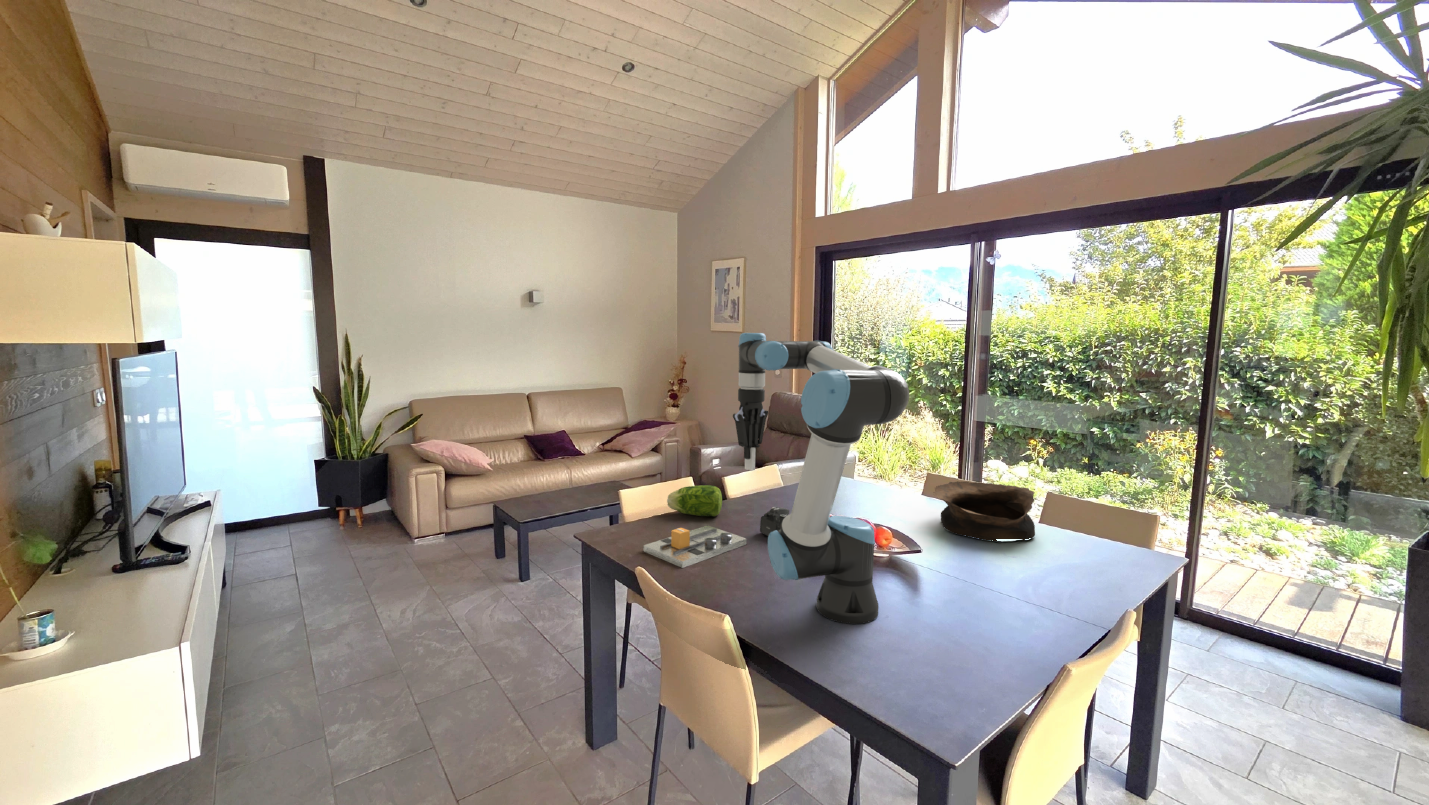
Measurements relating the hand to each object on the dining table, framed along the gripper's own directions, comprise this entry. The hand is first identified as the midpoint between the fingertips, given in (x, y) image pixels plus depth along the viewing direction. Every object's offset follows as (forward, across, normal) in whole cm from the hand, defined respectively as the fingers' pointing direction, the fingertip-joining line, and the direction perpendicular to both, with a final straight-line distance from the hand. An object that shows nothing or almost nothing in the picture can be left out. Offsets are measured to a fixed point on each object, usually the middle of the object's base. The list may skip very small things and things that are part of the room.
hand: (749, 469), depth 175 cm
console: (+29, 0, -22) cm, 37 cm away
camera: (+30, -27, -11) cm, 42 cm away
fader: (+27, +7, -22) cm, 36 cm away
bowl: (+30, -85, +35) cm, 97 cm away
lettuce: (+30, -23, -47) cm, 60 cm away
